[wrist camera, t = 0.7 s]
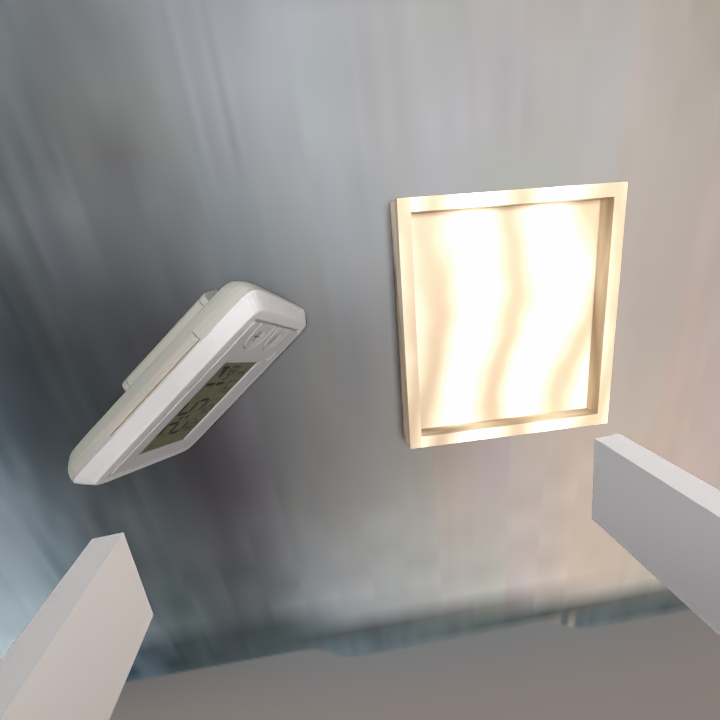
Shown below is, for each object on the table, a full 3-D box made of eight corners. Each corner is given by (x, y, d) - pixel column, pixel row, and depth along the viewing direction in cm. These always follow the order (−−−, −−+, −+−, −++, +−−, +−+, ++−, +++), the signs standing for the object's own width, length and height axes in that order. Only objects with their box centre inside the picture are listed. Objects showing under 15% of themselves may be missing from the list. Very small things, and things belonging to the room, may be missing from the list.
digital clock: (177, 452, 34) (117, 536, 23) (101, 370, 31) (-3, 423, 21) (331, 346, 33) (339, 385, 23) (266, 254, 30) (241, 250, 20)
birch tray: (404, 436, 36) (410, 449, 33) (390, 203, 30) (396, 198, 28) (588, 412, 37) (607, 423, 35) (604, 187, 32) (627, 181, 30)
